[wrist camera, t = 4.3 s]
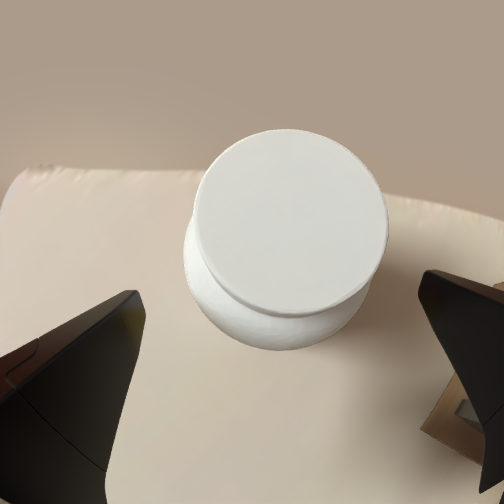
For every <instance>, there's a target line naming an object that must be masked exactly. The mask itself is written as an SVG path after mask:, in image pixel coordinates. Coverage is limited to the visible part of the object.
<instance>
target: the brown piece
mask: <svg viewBox="0 0 504 504" xmlns="http://www.w3.org/2000/svg"><path fill="white" fill-rule="evenodd" d="M493 288H496V289H499V290H502V291H504V282H501V283H498V284H494V287H493ZM462 399H465V400H469V398H468V396H467V394H466V392H465V390H464V388H463V385H462V383H461V381H460V379H459V377H458V375H457V373H456V372H455V374H454V376H453V377H452V379H451V381H450V383H449V384H448V386H447V388H446V390H445V391H444V393H443V395H442V396H441V398H440V399H439V401H438V403H437V404H436V406H435V407H434V409H433V411H432V412H431V414H430V415H429V417H428V418H427V420H426V421H425V423H424V424H423V426H422V427H421V428H420V429H421V430H422V431H424V432H425V433H427V434H429V435H430V436H432V437H434V438H435V439H437V440H438V441H440V442H442V443H443V444H445V445H447V446H448V447H450V448H452V449H453V450H455V451H457V452H458V453H460V454H462V455H463V456H465V457H467V458H468V459H470V460H472V461H474V462H475V463H477V464H479V465H481V466H482V465H483V456H484V446H485V438H484V435H483V434H481V433H480V432H479V431H477V430H476V429H474V428H473V427H471V426H470V425H469V424H467V423H466V422H464V421H463V420H462V419H460V418H459V417H457V416H456V415H455V414H454V413H455V411H456V410H457V408H458V406H459V405H460V403H461V401H462ZM469 401H470V400H469Z"/></svg>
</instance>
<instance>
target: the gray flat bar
mask: <svg viewBox="0 0 504 504" xmlns="http://www.w3.org/2000/svg"><path fill="white" fill-rule="evenodd" d="M454 414H455V415H456V416H457V417H459V418H460V419H462V420H463V421H464V422H466V423H467V424H469V425H470V426H471V427H473V428H474V429H476V430H477V431H479V432H480V433H481V434H483V435H484V433H483V430H482V427H481V425H480V422H479V420H478V418H477V416H476V413H475V411H474V409H473V407H472V404H471V402H470V401H469V400H465V399H462V401H461V403H460V405H459V406H458V408H457V410H456V411H455V413H454Z"/></svg>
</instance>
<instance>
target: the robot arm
mask: <svg viewBox="0 0 504 504" xmlns="http://www.w3.org/2000/svg"><path fill="white" fill-rule="evenodd" d="M418 297H419V300H420V302H421V304H422V306H423V309H424V311H425V313H426V315H427V317H428V320H429V322H430V324H431V326H432V329H433V331H434V332H435V334H436V336H437V338H438V340H439V342H440V343H441V345H442V347H443V349H444V351H445V352H446V354H447V356H448V358H449V360H450V362H451V364H452V366H453V368H454V370H455V371H456V373H457V375H458V377H459V379H460V381H461V383H462V385H463V388H464V390H465V392H466V394H467V396H468V398H469V400H470V402H471V404H472V407H473V409H474V411H475V413H476V416H477V418H478V420H479V422H480V425H481V427H482V430H483V433H484V438H485V446H484V456H483V465H482V472H481V479H480V485H479V493H480V494H481V493H483V492H484V491H486V490H488V489H490V488H491V487H493V486H495V485H496V484H498V483H500V482H501V481H503V480H504V291H502V290H499V289H496V288H493V287H490V286H487V285H484V284H481V283H478V282H475V281H471V280H468V279H465V278H462V277H459V276H455V275H452V274H449V273H446V272H442V271H439V270H435V269H433V270H426V271H425V272H424V274H423V277H422V280H421V284H420V287H419V290H418ZM145 319H146V313H145V309H144V306H143V303H142V300H141V297H140V294H139V292H138V291H137V290H125V291H123V292H121V293H119V294H117V295H116V296H114V297H112V298H110V299H108V300H106V301H104V302H103V303H101V304H99V305H97V306H95V307H93V308H91V309H90V310H88V311H86V312H84V313H82V314H80V315H79V316H77V317H75V318H73V319H71V320H69V321H68V322H66V323H64V324H62V325H60V326H58V327H57V328H55V329H53V330H51V331H49V332H48V333H46V334H44V335H42V336H41V337H39V339H38V338H36V339H34V340H32V341H31V342H29V343H27V344H25V345H23V346H22V347H20V348H18V349H16V350H14V351H12V352H10V353H8V354H6V355H4V356H2V357H1V358H0V504H107V499H106V493H105V478H106V472H107V468H108V464H109V460H110V455H111V451H112V447H113V443H114V439H115V435H116V432H117V428H118V424H119V420H120V417H121V413H122V409H123V406H124V402H125V399H126V395H127V392H128V388H129V385H130V382H131V378H132V375H133V372H134V369H135V365H136V362H137V359H138V355H139V351H140V345H141V340H142V335H143V330H144V324H145ZM499 504H504V492H503V495H502V497H501V500H500V503H499Z"/></svg>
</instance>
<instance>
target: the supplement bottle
mask: <svg viewBox="0 0 504 504" xmlns="http://www.w3.org/2000/svg"><path fill="white" fill-rule="evenodd" d="M388 230H389V224H388V213H387V208H386V204H385V200H384V197H383V194H382V192H381V189H380V187H379V185H378V183H377V181H376V180H375V178H374V176H373V175H372V173H371V172H370V171H369V169H368V168H367V167H366V166H365V165H364V163H362V161H360V159H359V158H358V157H356V156H355V155H354V154H353V153H352V152H350V151H349V150H348V149H347V148H345V147H343V146H342V145H341V144H339V143H337V142H335V141H333V140H331V139H329V138H327V137H324V136H321V135H319V134H315V133H311V132H307V131H302V130H295V129H280V130H269V131H265V132H261V133H257V134H254V135H251V136H249V137H246V138H244V139H242V140H240V141H238V142H237V143H235V144H233V145H232V146H231V147H229V148H228V149H226V150H225V151H224V152H223V153H222V154H221V155H220V156H219V157H217V159H216V160H215V161H214V162H213V163H212V165H211V166H210V167H209V169H208V170H207V171H206V173H205V175H204V177H203V178H202V180H201V183H200V185H199V188H198V190H197V194H196V198H195V203H194V209H193V215H192V217H191V220H190V222H189V225H188V228H187V231H186V235H185V241H184V252H183V254H184V269H185V275H186V279H187V282H188V285H189V288H190V291H191V293H192V295H193V297H194V299H195V301H196V303H197V304H198V306H199V308H200V309H201V311H202V312H203V313H204V314H205V316H206V317H207V318H208V319H209V320H210V321H211V322H212V323H213V324H214V325H215V326H216V327H218V328H219V329H220V330H221V331H222V332H224V333H225V334H227V335H228V336H230V337H231V338H233V339H235V340H237V341H239V342H241V343H244V344H246V345H249V346H252V347H256V348H261V349H265V350H276V351H284V350H294V349H299V348H303V347H307V346H310V345H313V344H316V343H318V342H320V341H322V340H324V339H326V338H328V337H330V336H331V335H333V334H335V333H336V332H337V331H338V330H340V329H341V328H342V327H343V326H345V325H346V324H347V323H348V322H349V320H350V319H351V318H352V317H353V316H354V315H355V314H356V312H357V311H358V309H359V308H360V306H361V305H362V303H363V301H364V299H365V297H366V295H367V293H368V290H369V288H370V284H371V281H372V277H373V275H374V274H375V272H376V271H377V269H378V267H379V265H380V263H381V261H382V258H383V255H384V253H385V249H386V245H387V240H388Z"/></svg>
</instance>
